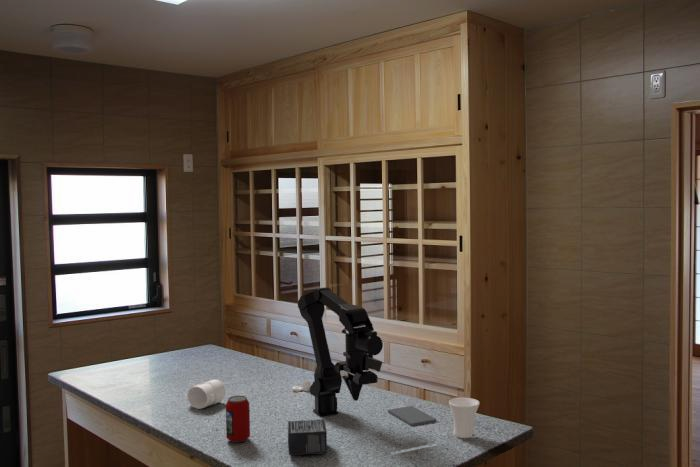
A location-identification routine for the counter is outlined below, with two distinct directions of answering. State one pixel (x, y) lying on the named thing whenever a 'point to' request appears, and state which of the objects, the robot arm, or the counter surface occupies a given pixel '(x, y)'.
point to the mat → (411, 415)
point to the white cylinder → (206, 394)
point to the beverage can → (237, 419)
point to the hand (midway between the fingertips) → (355, 400)
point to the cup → (463, 416)
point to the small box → (307, 437)
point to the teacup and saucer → (305, 384)
